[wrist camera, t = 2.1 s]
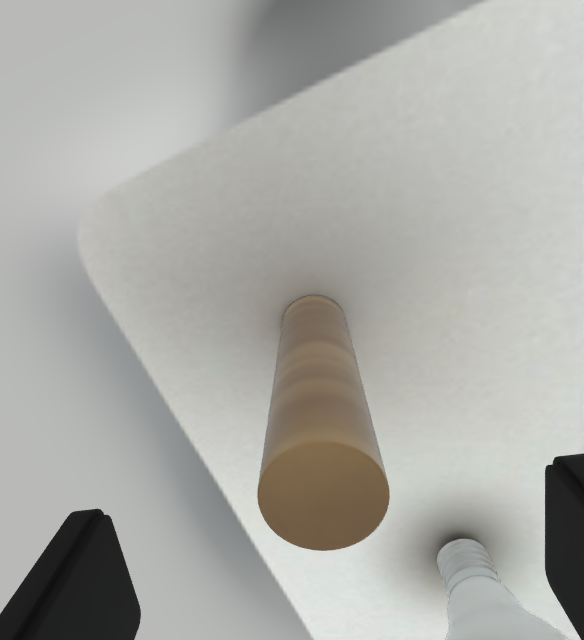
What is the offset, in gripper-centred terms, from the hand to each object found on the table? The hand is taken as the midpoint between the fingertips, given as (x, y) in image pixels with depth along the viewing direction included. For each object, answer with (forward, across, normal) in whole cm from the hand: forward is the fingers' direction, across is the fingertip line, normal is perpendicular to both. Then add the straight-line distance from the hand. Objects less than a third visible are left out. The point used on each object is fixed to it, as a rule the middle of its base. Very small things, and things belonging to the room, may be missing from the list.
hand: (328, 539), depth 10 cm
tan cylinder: (+13, 0, -1) cm, 13 cm away
